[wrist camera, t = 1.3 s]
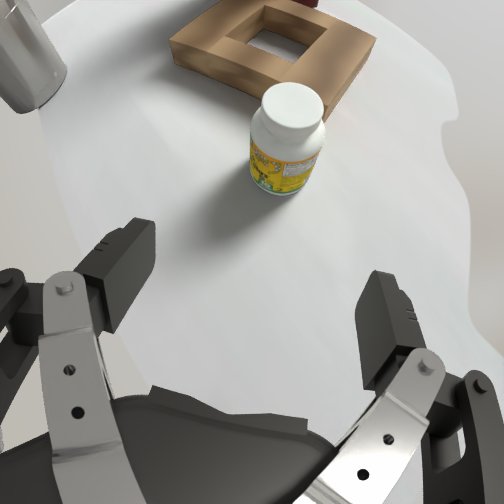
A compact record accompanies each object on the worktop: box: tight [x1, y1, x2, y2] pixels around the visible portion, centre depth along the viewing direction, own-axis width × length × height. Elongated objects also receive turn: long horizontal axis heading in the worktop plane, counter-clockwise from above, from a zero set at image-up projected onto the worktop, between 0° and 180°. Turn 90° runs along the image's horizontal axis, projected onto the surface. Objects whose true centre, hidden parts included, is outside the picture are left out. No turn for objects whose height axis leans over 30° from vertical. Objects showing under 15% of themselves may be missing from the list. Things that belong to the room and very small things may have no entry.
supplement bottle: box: [250, 82, 325, 196], centre depth 23 cm, size 5×5×10 cm
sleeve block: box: [169, 0, 377, 123], centre depth 29 cm, size 18×14×4 cm
